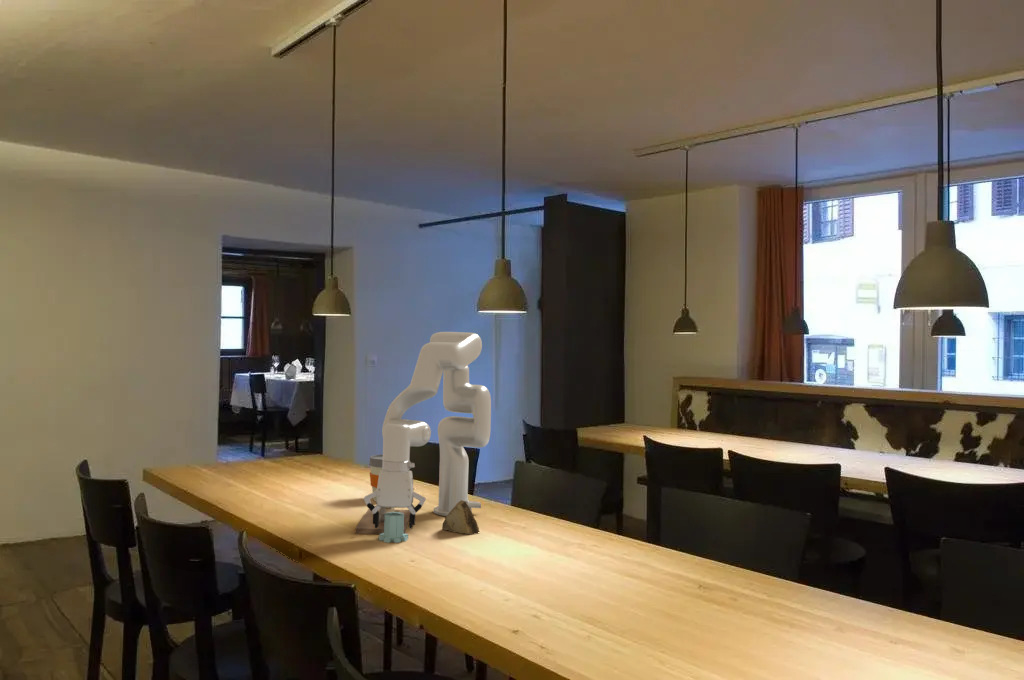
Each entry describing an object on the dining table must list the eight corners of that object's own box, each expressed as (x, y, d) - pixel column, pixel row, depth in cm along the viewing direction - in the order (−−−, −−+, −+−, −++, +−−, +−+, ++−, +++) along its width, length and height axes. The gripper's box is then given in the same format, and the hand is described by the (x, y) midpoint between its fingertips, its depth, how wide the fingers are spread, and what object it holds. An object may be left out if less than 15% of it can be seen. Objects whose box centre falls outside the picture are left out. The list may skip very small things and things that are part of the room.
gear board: (411, 514, 239) (412, 492, 239) (404, 534, 214) (404, 510, 214) (368, 513, 238) (369, 491, 239) (355, 533, 214) (356, 509, 214)
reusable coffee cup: (400, 504, 254) (402, 460, 254) (364, 502, 254) (365, 459, 255) (406, 496, 267) (408, 454, 267) (372, 495, 267) (373, 453, 267)
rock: (431, 522, 220) (449, 525, 212) (446, 497, 224) (463, 499, 216) (457, 541, 224) (475, 544, 216) (470, 516, 228) (489, 518, 220)
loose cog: (409, 535, 213) (410, 511, 213) (406, 543, 205) (407, 517, 205) (380, 534, 213) (381, 510, 213) (377, 542, 205) (377, 517, 205)
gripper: (427, 465, 213) (425, 524, 213) (367, 463, 213) (365, 523, 212) (425, 469, 206) (423, 531, 206) (363, 468, 205) (360, 529, 205)
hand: (393, 527), depth 209 cm, fingers open, 9 cm apart
